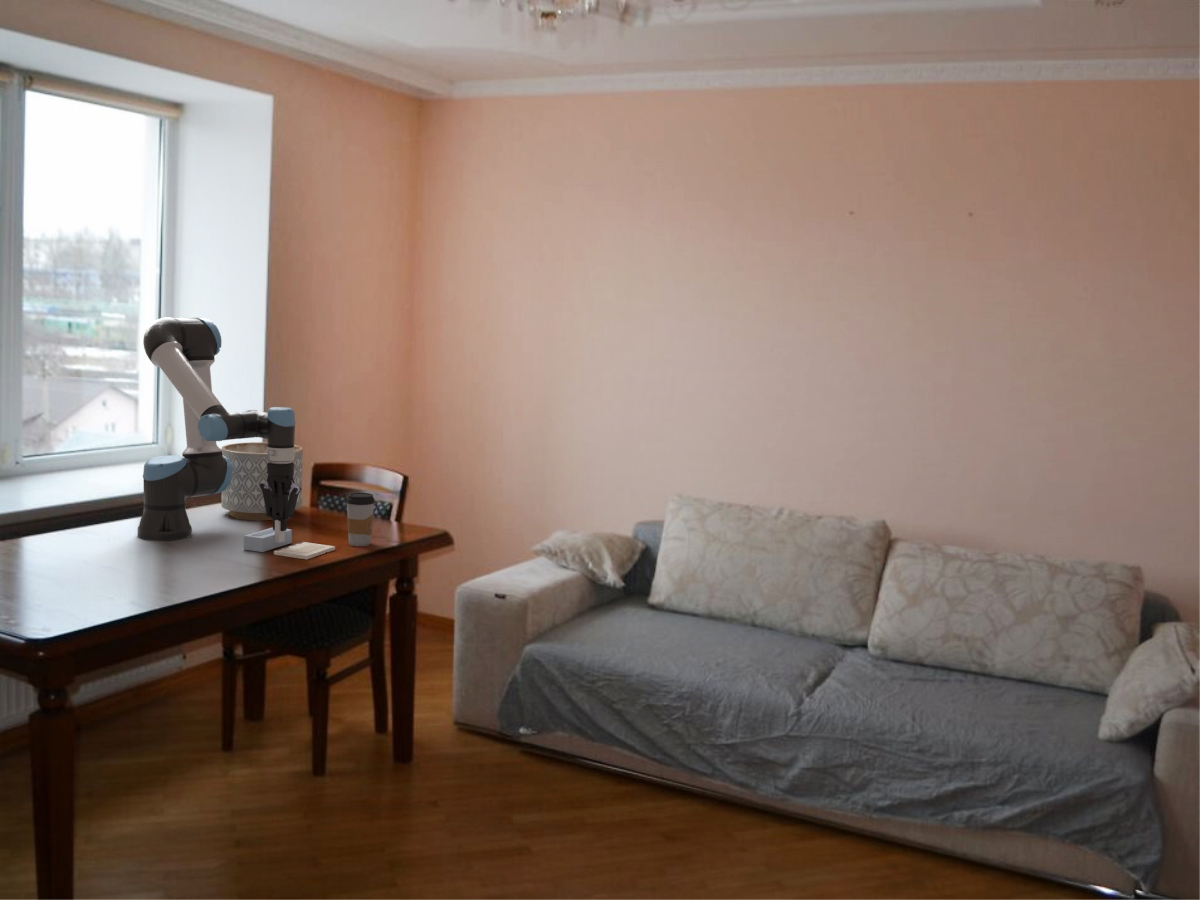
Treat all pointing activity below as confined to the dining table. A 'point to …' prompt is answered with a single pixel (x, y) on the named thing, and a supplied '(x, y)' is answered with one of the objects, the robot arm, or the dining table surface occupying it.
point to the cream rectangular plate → (304, 550)
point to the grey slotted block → (265, 540)
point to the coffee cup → (360, 518)
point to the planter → (253, 479)
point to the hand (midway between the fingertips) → (279, 541)
